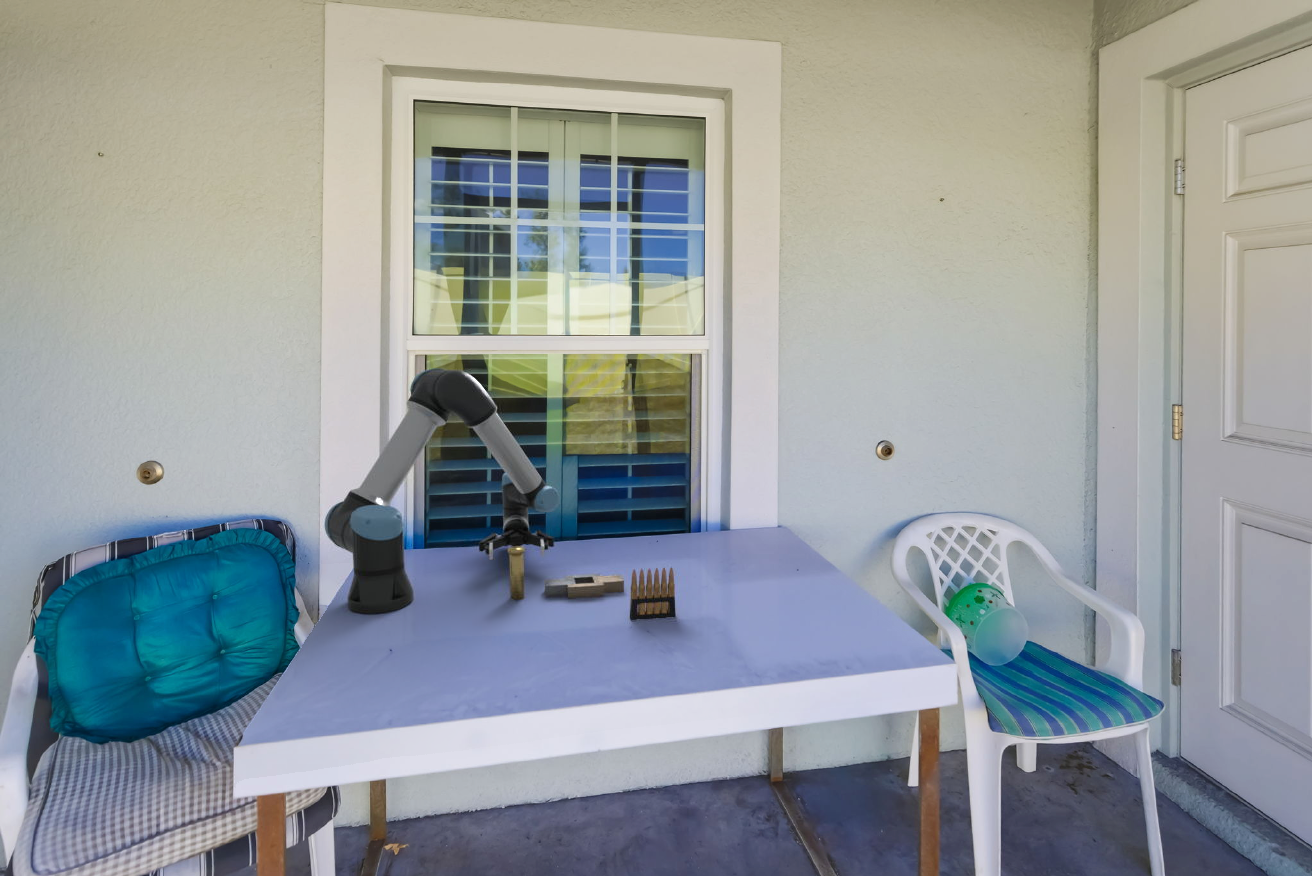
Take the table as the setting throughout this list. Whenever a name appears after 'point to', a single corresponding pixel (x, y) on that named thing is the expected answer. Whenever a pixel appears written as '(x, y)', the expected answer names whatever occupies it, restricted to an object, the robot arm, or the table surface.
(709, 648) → the table surface
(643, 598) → the ammunition clip
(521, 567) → the link pin
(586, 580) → the chain joint
